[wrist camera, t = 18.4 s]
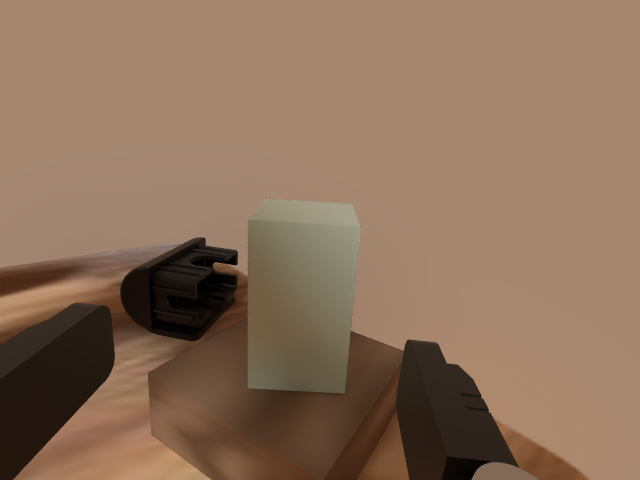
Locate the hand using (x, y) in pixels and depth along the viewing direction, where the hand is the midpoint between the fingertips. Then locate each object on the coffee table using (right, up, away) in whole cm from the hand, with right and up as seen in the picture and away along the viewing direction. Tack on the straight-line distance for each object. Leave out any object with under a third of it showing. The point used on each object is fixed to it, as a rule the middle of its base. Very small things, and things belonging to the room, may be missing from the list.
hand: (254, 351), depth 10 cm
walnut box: (-1, -10, +15) cm, 18 cm away
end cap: (-12, -5, +28) cm, 31 cm away
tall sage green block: (0, -5, +14) cm, 15 cm away
